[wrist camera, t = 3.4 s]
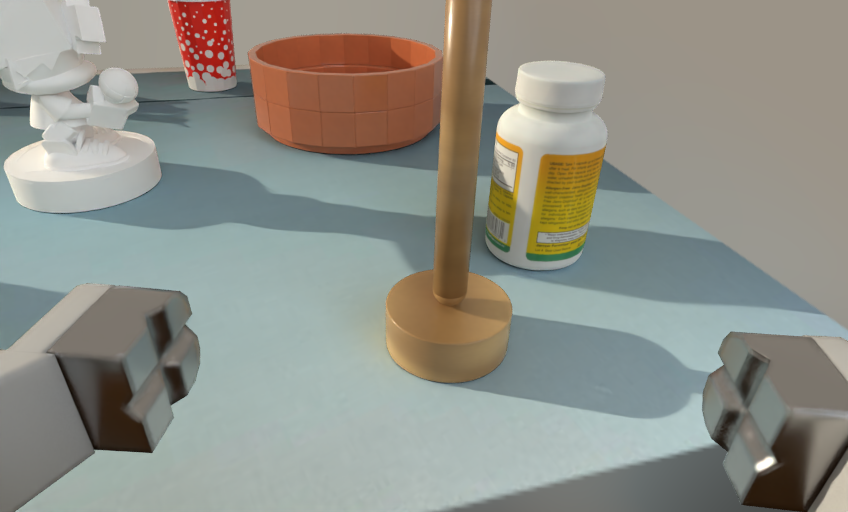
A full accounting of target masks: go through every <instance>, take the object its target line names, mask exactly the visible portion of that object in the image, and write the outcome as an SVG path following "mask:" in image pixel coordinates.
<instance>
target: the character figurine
mask: <svg viewBox="0 0 848 512" xmlns="http://www.w3.org/2000/svg"><path fill="white" fill-rule="evenodd" d="M99 42H106V39H105V34H104V29H103V25H102V20H101V16H100V12H99V9H98V7H91V6H90V4H89V0H0V78H1V79H2V82H3V85H4V86H5V87H6V88H8V89H9V90H12V91H14V92H17V93H23V94H32V97H31V105H30V125H31V126H32V127H34V128H37V129H44V130H45V132H44V133H43V134H42V137H43V138H44V140H42V141H39V142H36V143H33V144H31V145H28V146H26V147H23V148H22V149H20V150H18V151H17V152H15V153H13V154H12V155H11V156H10V157H9V158H8V159H7V160H6V161H5V164H4V170H5V172H6V174H7V177H8V179H9V182H10V185H11V187H12V190H13V192H14V195H15V197H16V200H17V202H19V203H20V204H21V205H22V206H24V207H26V208H28V209H31V210H36V211H40V212H50V213H72V212H84V211H90V210H96V209H102V208H106V207H110V206H114V205H117V204H120V203H123V202H126V201H129V200H132V199H134V198H136V197H138V196H141V195H142V194H144V193H146V192H148V191H149V190H151V189H152V188H153V187H154V186H156V185H157V183H158V182H159V181H160V179H161V176H162V173H161V169H160V164H159V160H158V156H157V152H156V147H155V144H154V142H153V140H151V139H150V138H148V137H147V136H144V135H141V134H138V133H133V132H127V131H114V130H113V129H119V130H120V129H123V127H124V125H125V123H126V120H127V118H128V116H129V115H131V114H132V113H134V112H136V111H137V109H138V106H139V104H138V103H137V101H136V100H135V97H136V96H137V94H138V84H137V82H136V80H135V78H134V77H133V76H132V75H131V74H130V73H129V72H128V71H126V70H124V69H122V68H118V67H111V68H107V69H106V70H104V71H103V72H102V73H101V74H100V76H99V86H95V85H90V86H89V91H88V93H87V102H88V103H83V102H81V101H80V100H79V99H77V98H76V97H74V95H73V94H72V93H71V92H70V91H69V90H72V89H75V88H77V87H80V86H82V85H84V84H86V83H87V82H89V81H90V80H92V79H93V77H94V76H95V75H96V73H97V69H96V66H95V65H94V64H93V63H92V62H90V61H88V60H85V59H84V54H101V48H100V43H99ZM111 128H112V129H111Z"/></svg>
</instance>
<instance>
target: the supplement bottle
mask: <svg viewBox="0 0 848 512" xmlns="http://www.w3.org/2000/svg"><path fill="white" fill-rule="evenodd" d="M604 83H605V74H604V72H603V71H601V70H599V69H597V68H595V67H592V66H588V65H584V64H579V63H573V62H563V61H537V62H530V63H526V64H523V65H521V66H520V67H519V69H518V76H517V83H516V88H515V93H516V98H517V100H518V101H519V102H520V103H519V104H517V105H515V106H513V107H511V108H509V109H508V110H507V111H505V112H504V113H503V115H502V116H501V118H500V119H499V122H498V125H497V132H496V139H495V150H494V158H493V167H492V177H491V186H490V195H489V203H488V211H487V221H486V233H485V240H486V244H487V246H488V248H489V250H490V251H491V252H492V253H493V254H494V255H495V256H496V257H497V258H499V259H500V260H502V261H504V262H505V263H508V264H510V265H513V266H516V267H519V268H523V269H529V270H555V269H560V268H564V267H567V266H569V265H571V264H573V263H574V262H575V261H576V260H577V259H578V258H579V257H580V256H581V254H582V252H583V248H584V244H585V240H586V235H587V230H588V226H589V222H590V217H591V212H592V208H593V203H594V199H595V194H596V189H597V185H598V180H599V175H600V171H601V167H602V162H603V157H604V152H605V148H606V144H607V138H608V132H607V128H606V125H605V123H604V121H603V120H602V119H601V118H600V117H599V116H598V115H597V114H596V113H594V112H592V111H593V109H594V108H596V107H597V106H598V104H599V102H600V101H601V100H602V96H603V89H604Z"/></svg>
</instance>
